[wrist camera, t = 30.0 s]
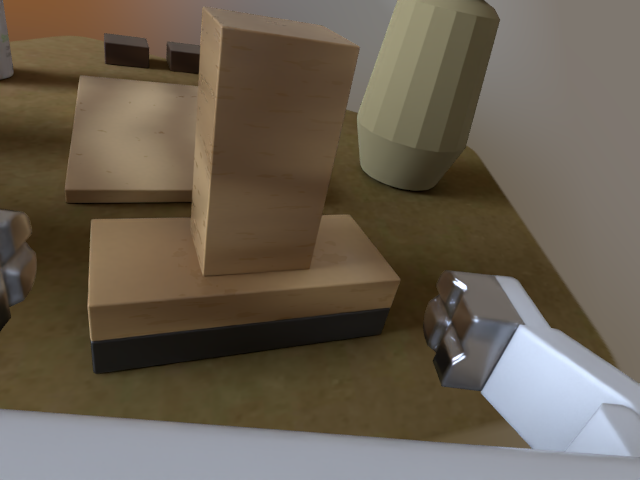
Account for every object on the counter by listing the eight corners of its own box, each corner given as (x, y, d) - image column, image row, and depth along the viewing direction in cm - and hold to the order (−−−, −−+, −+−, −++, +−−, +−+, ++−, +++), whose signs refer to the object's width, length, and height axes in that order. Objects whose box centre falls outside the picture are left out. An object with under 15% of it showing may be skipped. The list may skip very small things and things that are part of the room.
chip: (146, 58, 49) (146, 38, 48) (149, 68, 46) (149, 47, 45) (105, 53, 48) (104, 32, 47) (105, 63, 45) (104, 42, 44)
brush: (336, 265, 23) (397, 33, 18) (381, 334, 20) (477, 69, 14) (95, 280, 19) (72, -21, 13) (93, 375, 15) (59, 10, 9)
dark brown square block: (203, 64, 52) (204, 45, 51) (209, 74, 49) (211, 55, 48) (166, 60, 50) (166, 41, 49) (170, 70, 47) (170, 50, 46)
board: (245, 98, 44) (246, 90, 44) (319, 201, 29) (322, 190, 28) (80, 84, 38) (79, 75, 38) (65, 203, 23) (64, 189, 23)
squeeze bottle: (327, 170, 33) (396, -147, 24) (370, 145, 40) (438, -112, 30) (432, 213, 31) (556, -124, 21) (460, 179, 37) (565, -92, 28)
